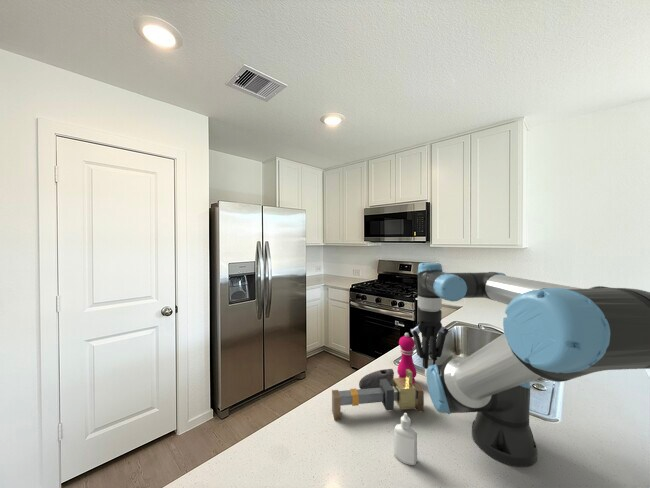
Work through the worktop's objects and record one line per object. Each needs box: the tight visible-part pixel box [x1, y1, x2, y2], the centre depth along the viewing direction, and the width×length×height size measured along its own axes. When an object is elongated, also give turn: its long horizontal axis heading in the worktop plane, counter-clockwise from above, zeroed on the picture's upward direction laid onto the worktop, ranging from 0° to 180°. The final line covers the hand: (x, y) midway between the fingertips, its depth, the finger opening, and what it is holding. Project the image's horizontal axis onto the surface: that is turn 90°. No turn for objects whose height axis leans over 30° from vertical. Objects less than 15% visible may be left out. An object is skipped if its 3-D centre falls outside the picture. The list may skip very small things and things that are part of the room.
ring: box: [380, 379, 395, 412], centre depth 88 cm, size 2×7×7 cm, turn 8°
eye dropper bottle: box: [393, 412, 418, 466], centre depth 69 cm, size 4×6×12 cm
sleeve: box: [392, 369, 415, 410], centre depth 89 cm, size 5×7×11 cm
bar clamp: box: [331, 383, 425, 421], centre depth 88 cm, size 30×4×7 cm, turn 98°
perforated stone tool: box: [358, 368, 395, 389], centre depth 100 cm, size 15×5×7 cm, turn 105°
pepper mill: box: [396, 332, 417, 384], centre depth 105 cm, size 7×7×20 cm
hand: (428, 377), depth 90 cm, fingers closed
